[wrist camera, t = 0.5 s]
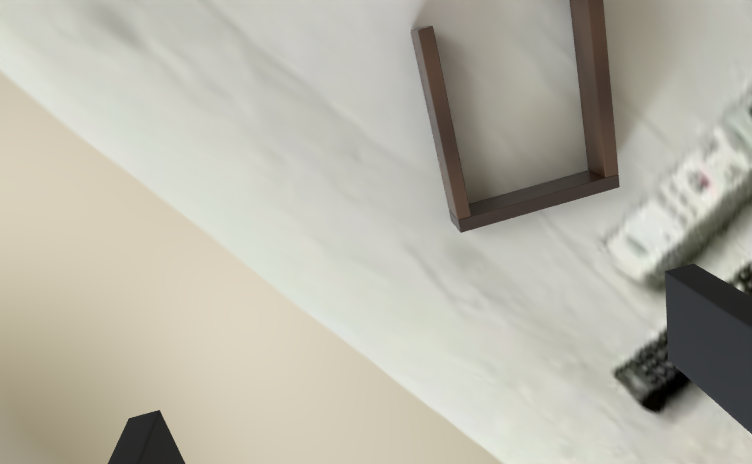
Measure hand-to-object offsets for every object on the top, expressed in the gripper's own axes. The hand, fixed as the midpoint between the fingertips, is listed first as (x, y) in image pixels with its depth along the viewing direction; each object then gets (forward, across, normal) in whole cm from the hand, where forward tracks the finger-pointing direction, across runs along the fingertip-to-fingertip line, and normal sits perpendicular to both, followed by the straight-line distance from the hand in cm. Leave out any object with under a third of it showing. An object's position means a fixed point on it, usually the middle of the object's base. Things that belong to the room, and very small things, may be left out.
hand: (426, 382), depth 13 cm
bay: (+26, +12, +1) cm, 29 cm away
